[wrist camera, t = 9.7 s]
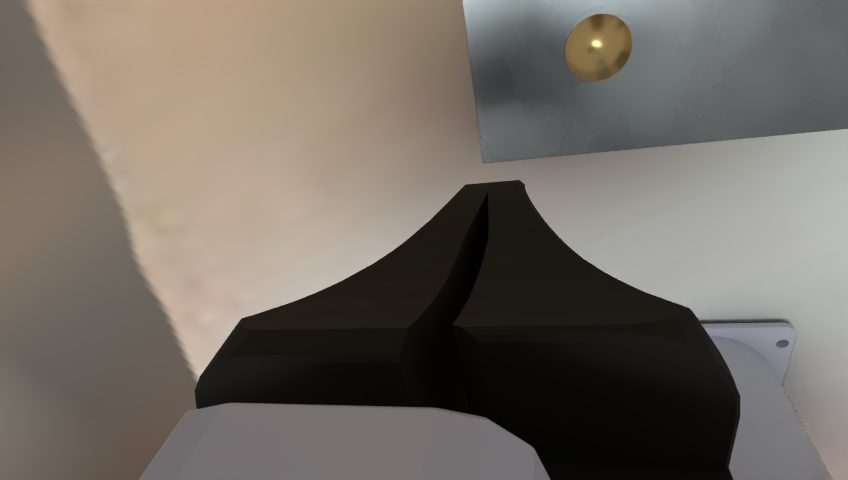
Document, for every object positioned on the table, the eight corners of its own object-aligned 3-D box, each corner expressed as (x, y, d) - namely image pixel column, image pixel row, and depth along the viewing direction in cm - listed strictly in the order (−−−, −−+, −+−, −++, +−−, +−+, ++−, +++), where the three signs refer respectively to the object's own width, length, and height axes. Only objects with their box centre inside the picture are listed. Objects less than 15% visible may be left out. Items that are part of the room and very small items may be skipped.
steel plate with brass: (1110, 66, 16) (1221, 94, 13) (488, 133, 21) (482, 164, 18) (1259, -221, 12) (1451, -257, 10) (465, -59, 17) (455, -55, 15)
